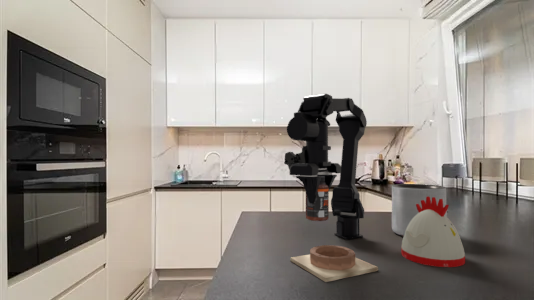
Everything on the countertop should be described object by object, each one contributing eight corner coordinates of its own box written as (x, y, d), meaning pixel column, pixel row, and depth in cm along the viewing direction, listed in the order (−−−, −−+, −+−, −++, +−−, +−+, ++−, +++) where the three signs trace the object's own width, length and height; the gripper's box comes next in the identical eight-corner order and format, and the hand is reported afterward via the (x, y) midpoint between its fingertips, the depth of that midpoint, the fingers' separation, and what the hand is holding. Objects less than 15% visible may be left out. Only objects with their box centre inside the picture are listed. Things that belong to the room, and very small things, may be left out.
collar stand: (337, 252, 80) (337, 240, 80) (378, 270, 67) (377, 255, 67) (290, 260, 73) (290, 247, 74) (325, 282, 61) (325, 265, 61)
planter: (456, 242, 89) (455, 188, 90) (398, 239, 92) (397, 188, 93) (436, 229, 105) (435, 184, 105) (387, 227, 108) (386, 183, 108)
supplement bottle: (328, 222, 76) (328, 176, 77) (304, 221, 78) (304, 176, 78) (329, 217, 82) (328, 175, 82) (306, 216, 83) (306, 175, 84)
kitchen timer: (441, 271, 67) (440, 202, 67) (389, 253, 79) (388, 195, 79) (477, 261, 73) (476, 198, 73) (424, 246, 85) (423, 192, 86)
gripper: (306, 144, 93) (306, 196, 92) (271, 141, 77) (271, 203, 77) (341, 143, 86) (342, 199, 86) (310, 140, 71) (311, 207, 70)
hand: (317, 202), depth 80 cm, fingers closed on supplement bottle, 6 cm apart
